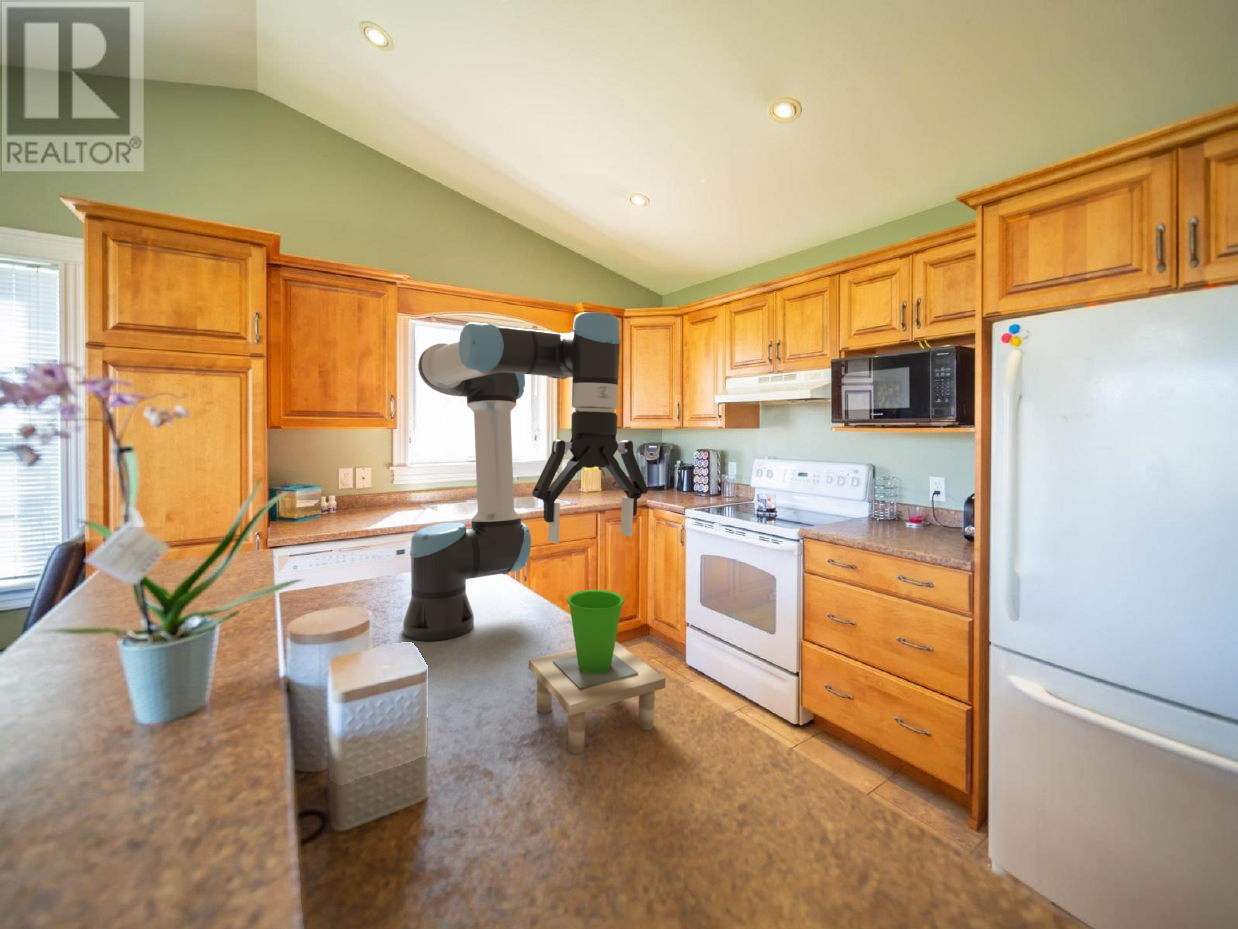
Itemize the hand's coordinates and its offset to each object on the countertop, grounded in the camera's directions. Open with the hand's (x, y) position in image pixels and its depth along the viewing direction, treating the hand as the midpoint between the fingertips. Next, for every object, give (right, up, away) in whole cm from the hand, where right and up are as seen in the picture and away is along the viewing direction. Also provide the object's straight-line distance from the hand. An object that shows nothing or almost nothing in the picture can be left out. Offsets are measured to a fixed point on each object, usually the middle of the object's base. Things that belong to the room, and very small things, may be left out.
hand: (591, 538), depth 86 cm
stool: (+1, -28, -4) cm, 28 cm away
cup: (+1, -20, -5) cm, 20 cm away
